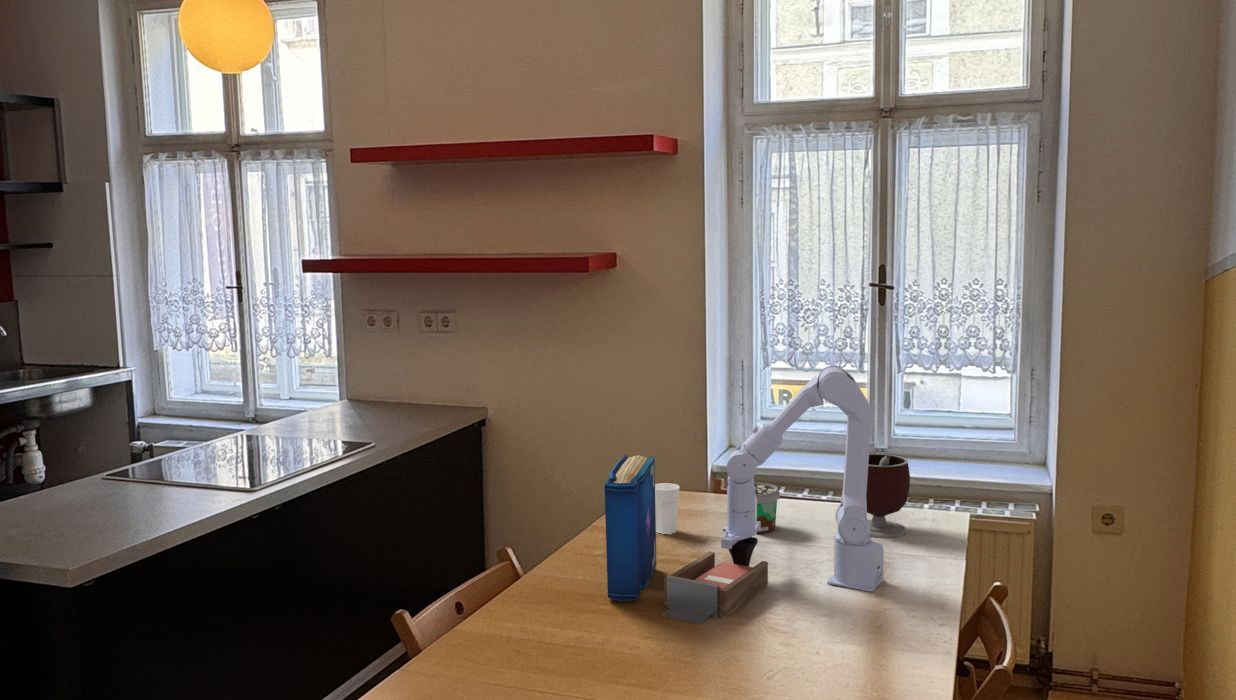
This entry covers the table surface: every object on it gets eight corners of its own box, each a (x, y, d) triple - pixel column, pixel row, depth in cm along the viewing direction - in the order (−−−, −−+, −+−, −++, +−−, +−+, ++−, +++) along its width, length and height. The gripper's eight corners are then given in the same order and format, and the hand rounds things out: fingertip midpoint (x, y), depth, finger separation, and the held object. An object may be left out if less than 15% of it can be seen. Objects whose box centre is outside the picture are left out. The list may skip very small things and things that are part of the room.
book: (639, 606, 191) (637, 479, 188) (603, 604, 193) (600, 478, 190) (657, 568, 212) (655, 454, 209) (624, 566, 214) (622, 453, 211)
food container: (783, 536, 233) (783, 494, 232) (757, 536, 233) (757, 494, 232) (776, 520, 245) (776, 481, 244) (751, 521, 245) (751, 481, 244)
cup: (647, 529, 240) (646, 485, 238) (671, 525, 242) (671, 481, 241) (660, 537, 234) (659, 491, 232) (684, 533, 237) (684, 488, 235)
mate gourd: (843, 521, 243) (844, 441, 241) (901, 521, 243) (902, 441, 240) (856, 541, 228) (857, 456, 226) (917, 541, 227) (919, 455, 225)
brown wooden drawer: (767, 585, 201) (767, 561, 200) (725, 617, 185) (725, 591, 184) (709, 574, 208) (709, 551, 207) (664, 604, 192) (664, 579, 191)
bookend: (719, 616, 185) (719, 585, 185) (707, 625, 181) (707, 593, 181) (669, 605, 191) (669, 575, 191) (656, 614, 187) (655, 583, 186)
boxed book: (762, 585, 202) (762, 568, 201) (732, 608, 190) (732, 590, 190) (722, 577, 207) (722, 561, 206) (690, 599, 195) (690, 581, 195)
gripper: (739, 498, 212) (739, 559, 214) (707, 515, 200) (708, 580, 202) (769, 502, 208) (769, 565, 210) (739, 520, 196) (739, 586, 198)
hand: (741, 572), depth 206 cm, fingers closed
